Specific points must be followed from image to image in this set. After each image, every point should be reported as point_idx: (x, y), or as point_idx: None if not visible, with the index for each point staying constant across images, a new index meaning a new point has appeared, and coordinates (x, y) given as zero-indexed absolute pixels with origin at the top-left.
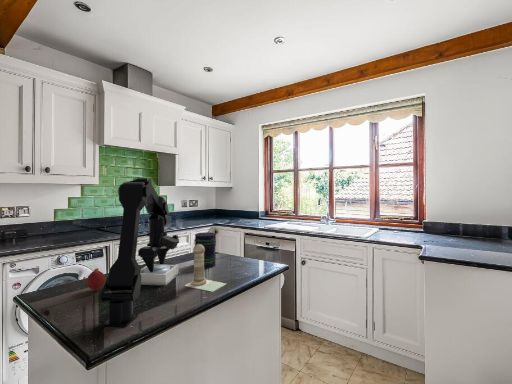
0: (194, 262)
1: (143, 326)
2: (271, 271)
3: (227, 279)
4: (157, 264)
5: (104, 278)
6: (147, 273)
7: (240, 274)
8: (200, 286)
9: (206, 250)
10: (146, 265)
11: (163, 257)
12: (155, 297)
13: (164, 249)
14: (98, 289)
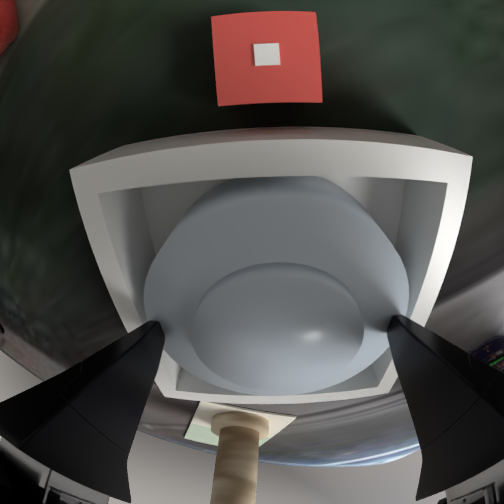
0: (214, 494)
1: (4, 347)
2: (353, 465)
3: (294, 447)
4: (362, 322)
5: None
6: (129, 302)
7: (339, 451)
8: (209, 426)
9: None
10: (92, 355)
11: (413, 403)
12: (69, 342)
13: (441, 482)
14: (11, 42)
